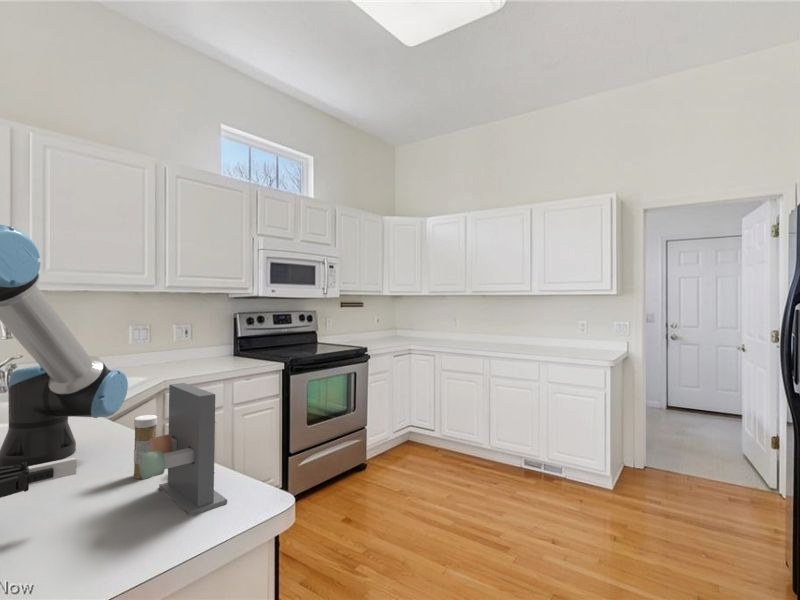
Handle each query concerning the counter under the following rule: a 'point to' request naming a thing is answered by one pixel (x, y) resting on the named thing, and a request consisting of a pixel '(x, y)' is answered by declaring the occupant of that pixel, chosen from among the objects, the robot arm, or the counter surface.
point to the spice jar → (143, 438)
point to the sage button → (163, 461)
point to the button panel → (194, 430)
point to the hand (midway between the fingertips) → (75, 465)
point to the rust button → (163, 444)
